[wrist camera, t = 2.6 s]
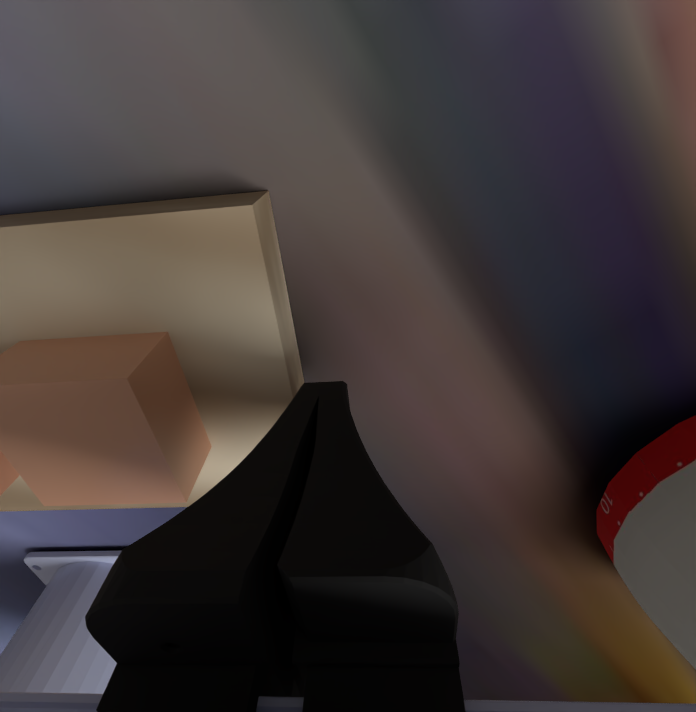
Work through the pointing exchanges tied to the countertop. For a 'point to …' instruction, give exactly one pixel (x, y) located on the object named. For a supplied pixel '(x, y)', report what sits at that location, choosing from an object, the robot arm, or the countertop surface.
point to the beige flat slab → (163, 307)
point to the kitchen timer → (657, 532)
